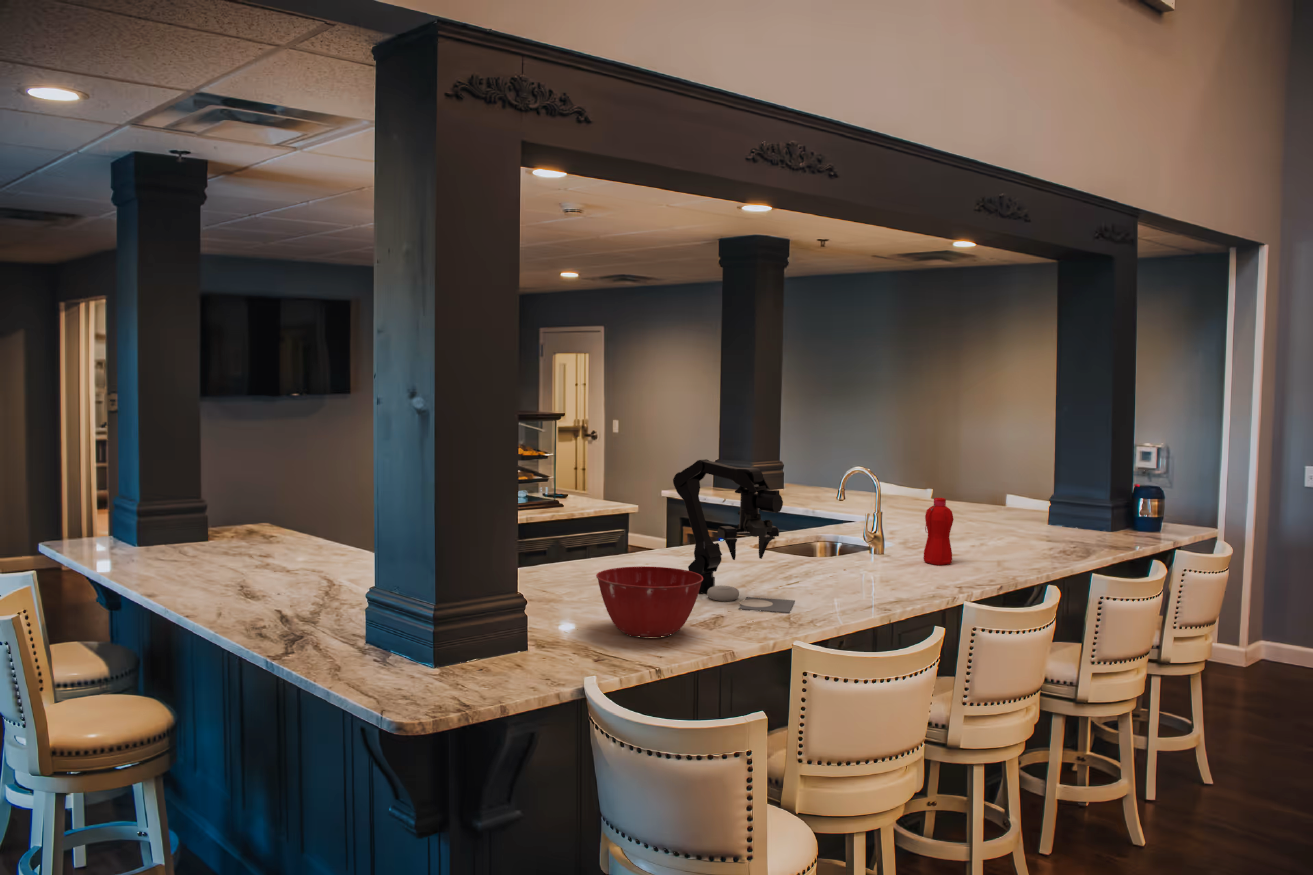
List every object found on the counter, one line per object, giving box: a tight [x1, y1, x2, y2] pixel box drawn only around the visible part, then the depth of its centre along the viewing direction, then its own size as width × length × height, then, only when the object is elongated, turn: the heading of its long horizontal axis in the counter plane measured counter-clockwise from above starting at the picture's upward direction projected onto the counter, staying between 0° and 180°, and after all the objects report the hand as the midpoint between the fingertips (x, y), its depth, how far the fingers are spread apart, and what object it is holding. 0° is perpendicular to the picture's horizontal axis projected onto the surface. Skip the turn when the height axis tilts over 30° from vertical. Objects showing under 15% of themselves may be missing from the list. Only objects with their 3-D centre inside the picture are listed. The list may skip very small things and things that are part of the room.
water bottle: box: [922, 497, 954, 566], centre depth 366 cm, size 9×11×25 cm
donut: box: [706, 585, 740, 602], centre depth 300 cm, size 10×4×10 cm
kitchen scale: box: [738, 596, 796, 614], centre depth 292 cm, size 16×16×1 cm
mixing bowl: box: [595, 566, 703, 637], centre depth 258 cm, size 28×28×16 cm
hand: (747, 559), depth 298 cm, fingers open, 9 cm apart
